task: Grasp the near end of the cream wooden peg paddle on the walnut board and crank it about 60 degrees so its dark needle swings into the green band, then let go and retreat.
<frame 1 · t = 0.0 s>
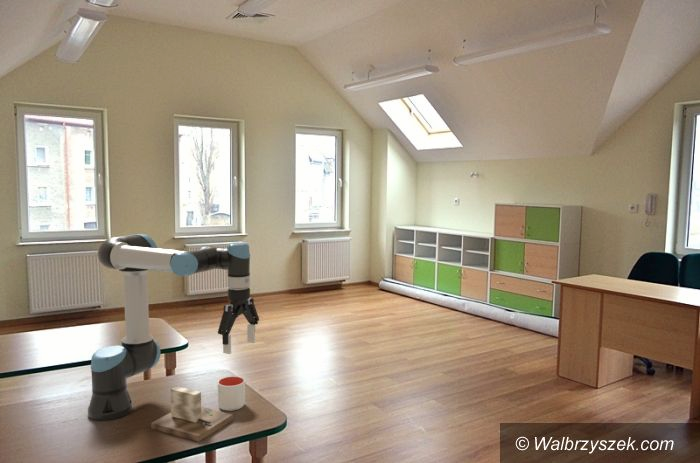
hand: (239, 347, 188), 28 cm above the table, fingers open, 13 cm apart
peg: (191, 405, 189), point 7 cm above the table, hinge at 0.0°
board: (192, 424, 191), on the table
cup: (231, 406, 206), on the table
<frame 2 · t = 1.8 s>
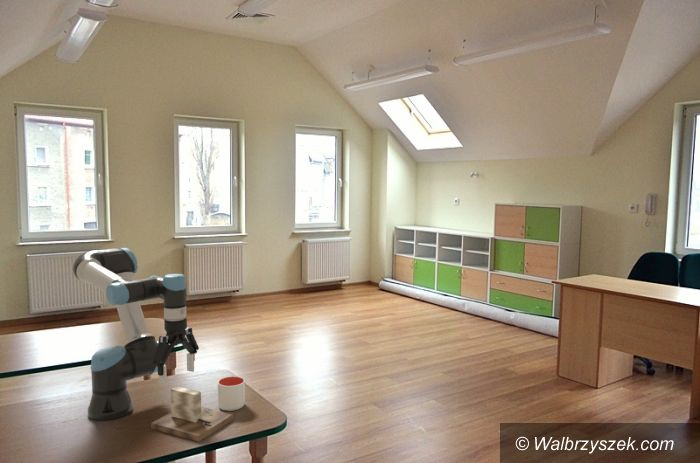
hand: (177, 377, 191), 16 cm above the table, fingers open, 13 cm apart
nothing on the table moved.
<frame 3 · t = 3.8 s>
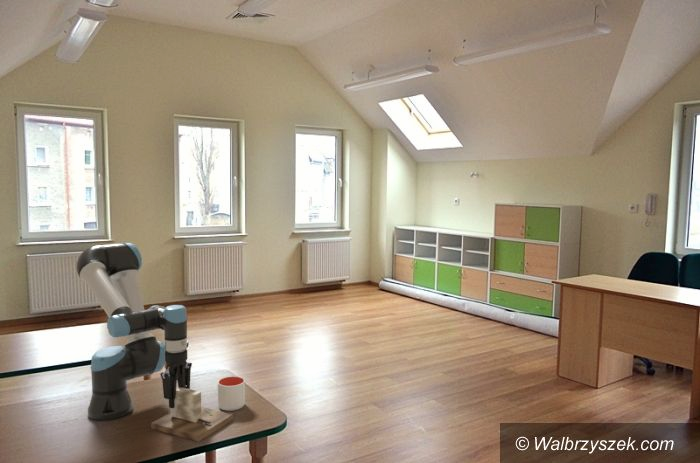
hand: (177, 413, 192), 3 cm above the table, fingers closed on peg, 3 cm apart
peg: (191, 405, 189), point 7 cm above the table, hinge at 0.1°, touching gripper
everything else where it was.
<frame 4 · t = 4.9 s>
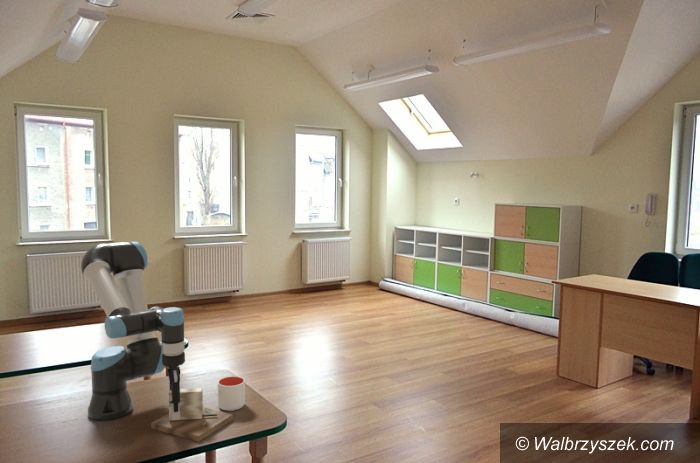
hand: (175, 416, 190), 3 cm above the table, fingers open, 4 cm apart
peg: (193, 403, 190), point 7 cm above the table, hinge at 34.0°, touching gripper
everything else where it was.
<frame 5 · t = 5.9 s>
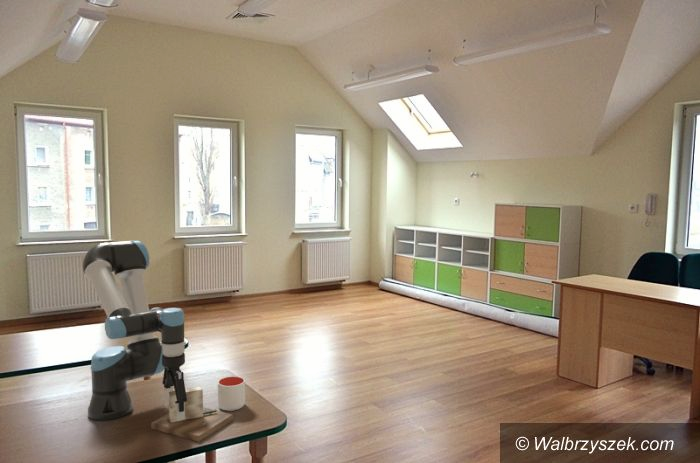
hand: (174, 412, 188), 5 cm above the table, fingers open, 13 cm apart
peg: (193, 402, 191), point 7 cm above the table, hinge at 52.5°
everything else where it was.
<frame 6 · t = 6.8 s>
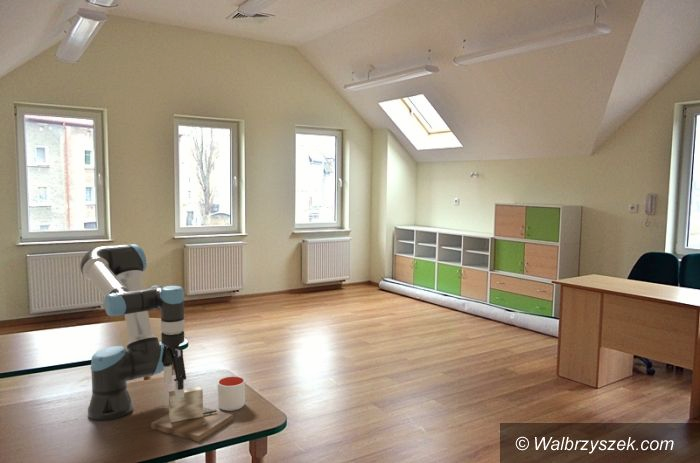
hand: (173, 390, 188), 13 cm above the table, fingers open, 13 cm apart
nothing on the table moved.
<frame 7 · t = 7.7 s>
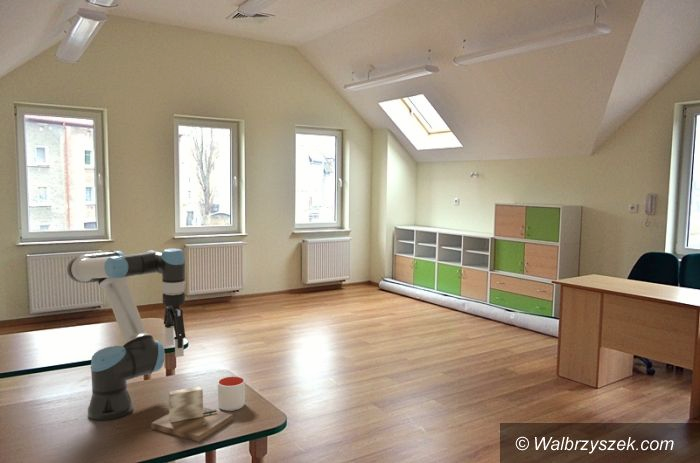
hand: (174, 350, 194), 25 cm above the table, fingers open, 13 cm apart
nothing on the table moved.
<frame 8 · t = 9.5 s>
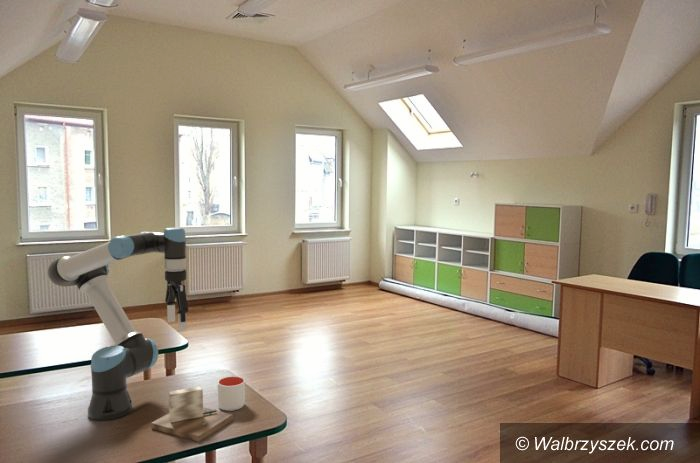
hand: (176, 326, 201), 32 cm above the table, fingers open, 13 cm apart
nothing on the table moved.
at the end: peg at +52° (first picture: +0°); the gripper is holding nothing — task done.
